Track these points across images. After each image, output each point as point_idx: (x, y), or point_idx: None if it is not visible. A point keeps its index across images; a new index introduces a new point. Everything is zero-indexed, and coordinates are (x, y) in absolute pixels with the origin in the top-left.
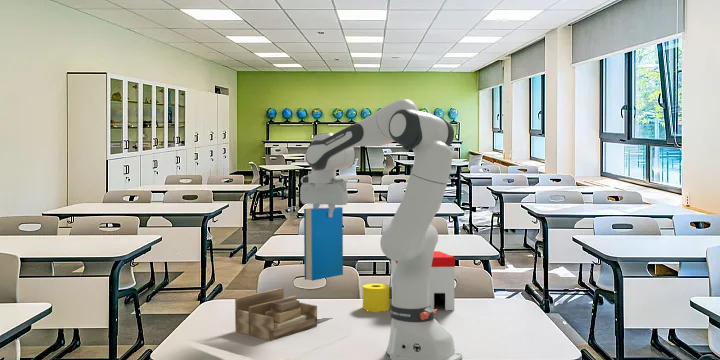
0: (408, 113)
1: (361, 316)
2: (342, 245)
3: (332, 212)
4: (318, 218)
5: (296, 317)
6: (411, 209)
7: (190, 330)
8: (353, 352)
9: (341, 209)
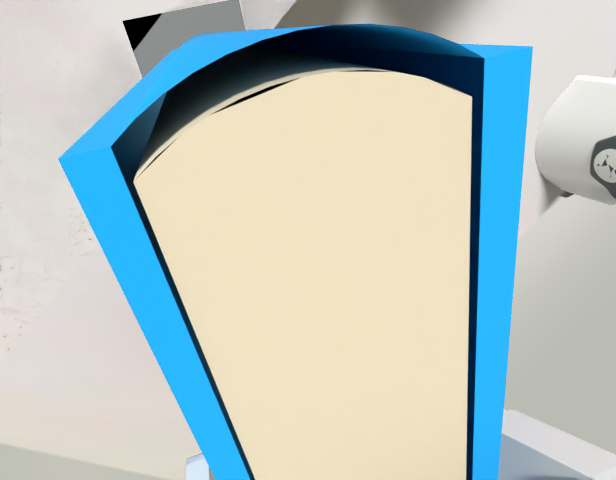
0: None
1: (300, 7)
2: (266, 41)
3: (504, 408)
4: None
5: None
6: None
7: (137, 453)
8: None
9: (476, 104)
